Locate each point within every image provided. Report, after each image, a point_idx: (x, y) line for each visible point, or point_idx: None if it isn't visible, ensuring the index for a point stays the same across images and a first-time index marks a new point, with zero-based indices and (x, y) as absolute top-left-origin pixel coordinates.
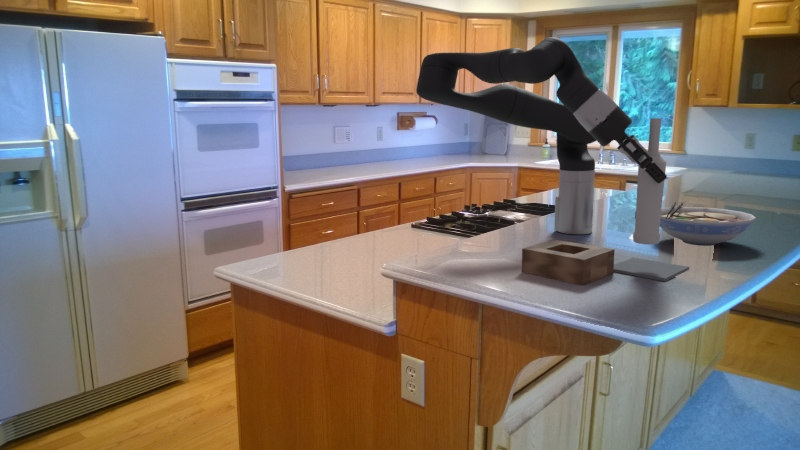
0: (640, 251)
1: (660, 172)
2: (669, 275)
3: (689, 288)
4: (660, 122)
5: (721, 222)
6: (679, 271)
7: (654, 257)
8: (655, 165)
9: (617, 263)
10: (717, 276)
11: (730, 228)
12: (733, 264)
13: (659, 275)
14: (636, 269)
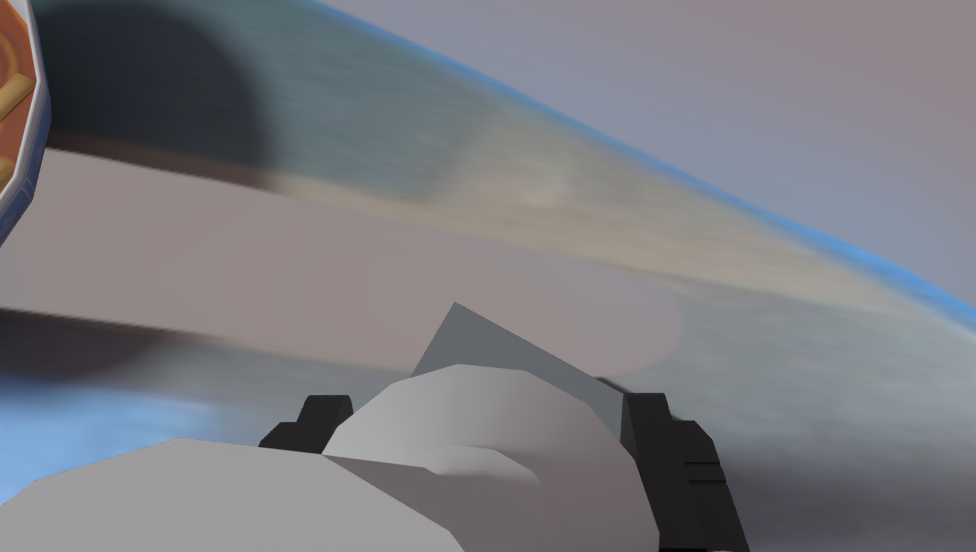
0: None
1: (719, 464)
2: None
3: (762, 347)
4: (433, 499)
5: (40, 68)
6: (547, 353)
7: (246, 423)
8: (696, 528)
9: None
10: (539, 215)
11: (40, 44)
12: (326, 124)
13: None
14: None
